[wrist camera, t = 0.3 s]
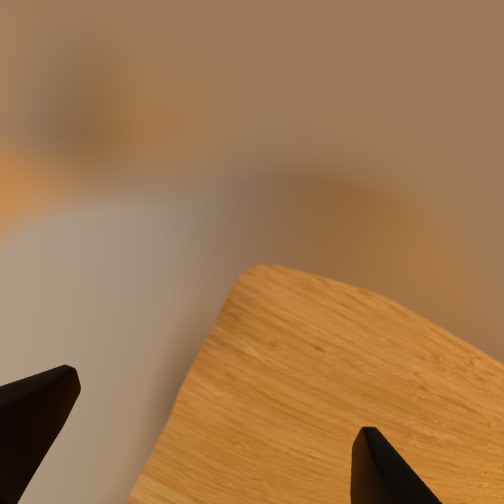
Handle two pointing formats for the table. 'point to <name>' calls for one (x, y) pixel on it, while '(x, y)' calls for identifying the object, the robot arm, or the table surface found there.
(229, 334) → the table surface
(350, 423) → the table surface
